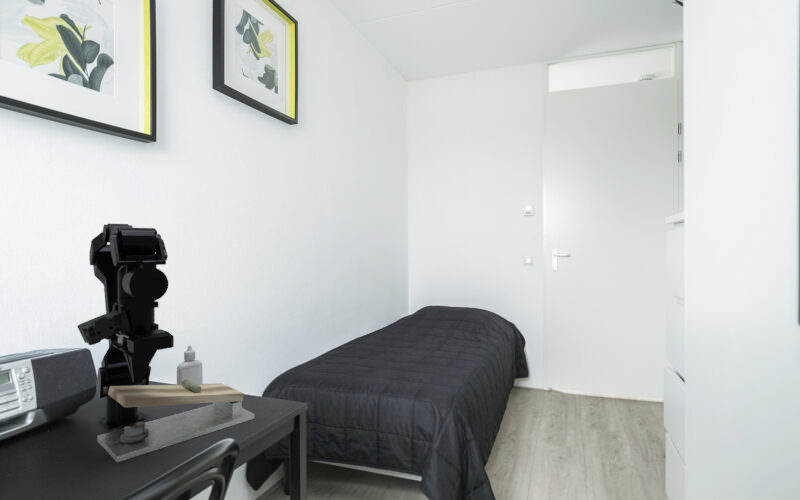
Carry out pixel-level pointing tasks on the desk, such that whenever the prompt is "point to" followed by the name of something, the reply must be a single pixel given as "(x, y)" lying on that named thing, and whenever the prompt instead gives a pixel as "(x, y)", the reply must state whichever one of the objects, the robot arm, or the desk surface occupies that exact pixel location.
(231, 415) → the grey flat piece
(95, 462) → the desk surface
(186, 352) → the eye dropper bottle
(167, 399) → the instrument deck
